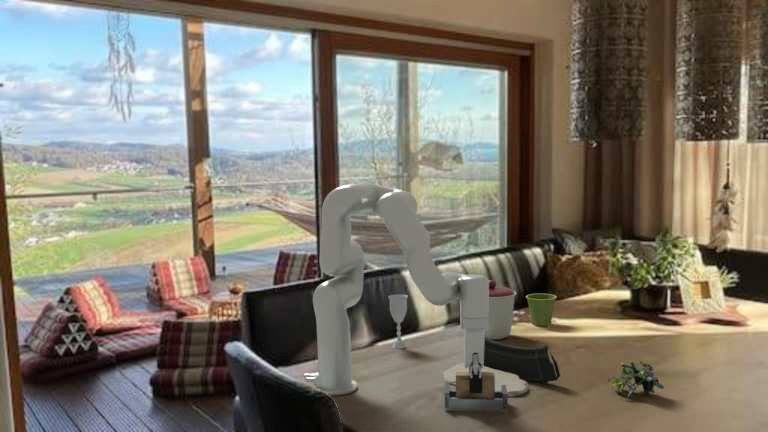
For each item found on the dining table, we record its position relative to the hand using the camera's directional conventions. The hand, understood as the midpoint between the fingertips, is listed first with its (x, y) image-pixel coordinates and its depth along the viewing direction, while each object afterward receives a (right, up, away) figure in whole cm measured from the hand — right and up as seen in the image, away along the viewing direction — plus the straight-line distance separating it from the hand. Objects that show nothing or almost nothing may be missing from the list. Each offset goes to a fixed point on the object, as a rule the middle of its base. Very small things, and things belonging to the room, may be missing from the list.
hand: (475, 386), depth 172 cm
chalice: (-19, -2, +60) cm, 63 cm away
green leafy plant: (+44, -4, +6) cm, 45 cm away
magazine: (+15, -3, +25) cm, 29 cm away
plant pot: (+38, +2, +87) cm, 95 cm away
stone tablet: (+5, -4, +20) cm, 21 cm away
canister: (+16, 0, +71) cm, 73 cm away
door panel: (0, -5, 0) cm, 5 cm away
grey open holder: (0, -5, 0) cm, 5 cm away
